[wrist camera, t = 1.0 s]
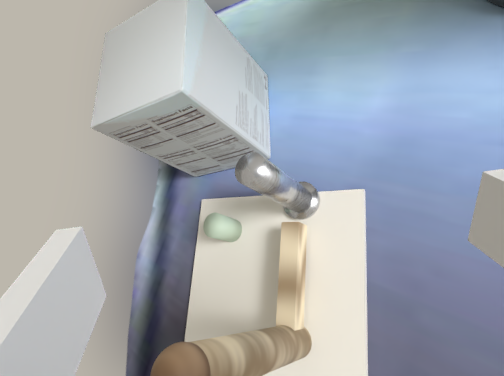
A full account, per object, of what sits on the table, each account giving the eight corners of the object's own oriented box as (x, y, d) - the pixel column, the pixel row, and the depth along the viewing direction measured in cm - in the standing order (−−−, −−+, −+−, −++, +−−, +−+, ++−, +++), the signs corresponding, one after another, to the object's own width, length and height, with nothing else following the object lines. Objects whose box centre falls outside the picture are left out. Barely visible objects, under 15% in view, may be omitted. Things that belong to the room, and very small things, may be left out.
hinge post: (285, 184, 40) (230, 148, 30) (320, 181, 37) (273, 141, 28) (283, 220, 38) (226, 194, 29) (319, 219, 36) (270, 191, 26)
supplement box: (197, 102, 53) (103, 30, 39) (269, 75, 47) (189, -23, 32) (194, 178, 49) (87, 130, 34) (272, 159, 43) (182, 90, 28)
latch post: (223, 219, 43) (204, 212, 40) (242, 218, 41) (225, 212, 38) (221, 242, 42) (201, 237, 39) (240, 242, 41) (222, 237, 37)
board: (205, 200, 46) (201, 199, 46) (365, 190, 35) (363, 188, 35) (186, 354, 41) (182, 355, 40) (368, 399, 30) (366, 401, 29)
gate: (286, 226, 38) (168, 177, 22) (315, 226, 36) (210, 172, 20) (279, 356, 34) (131, 409, 18) (312, 363, 33) (179, 429, 17)
